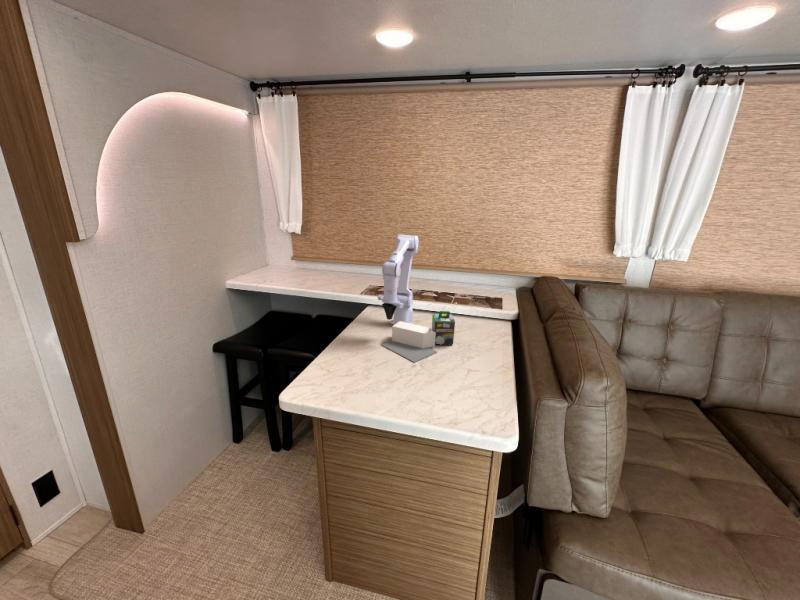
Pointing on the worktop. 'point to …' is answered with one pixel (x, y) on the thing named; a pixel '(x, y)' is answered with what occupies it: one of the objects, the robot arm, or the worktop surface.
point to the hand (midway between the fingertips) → (389, 318)
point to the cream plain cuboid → (413, 335)
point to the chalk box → (443, 327)
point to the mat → (409, 351)
